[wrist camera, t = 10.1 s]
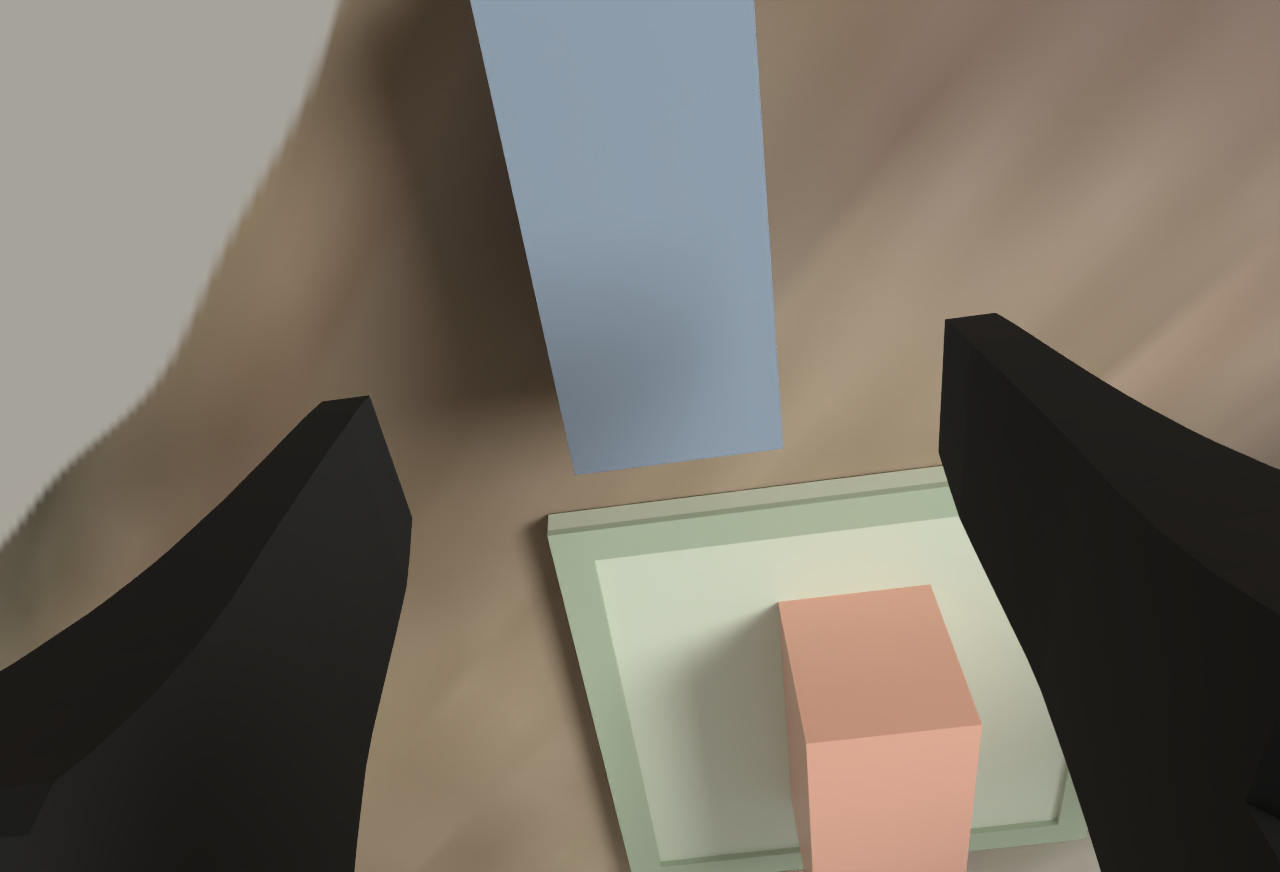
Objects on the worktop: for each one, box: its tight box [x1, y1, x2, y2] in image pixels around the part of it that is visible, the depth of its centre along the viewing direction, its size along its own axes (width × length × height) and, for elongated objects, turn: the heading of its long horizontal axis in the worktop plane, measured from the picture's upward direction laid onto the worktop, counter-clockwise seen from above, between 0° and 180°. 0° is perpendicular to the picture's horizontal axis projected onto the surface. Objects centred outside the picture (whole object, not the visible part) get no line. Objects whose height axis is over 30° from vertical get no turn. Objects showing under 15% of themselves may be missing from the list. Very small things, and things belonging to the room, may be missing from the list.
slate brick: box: [470, 0, 783, 475], centre depth 19 cm, size 4×9×4 cm, turn 8°
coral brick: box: [778, 584, 982, 872], centre depth 28 cm, size 4×9×4 cm, turn 7°
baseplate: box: [547, 466, 1088, 872], centre depth 30 cm, size 15×16×1 cm
